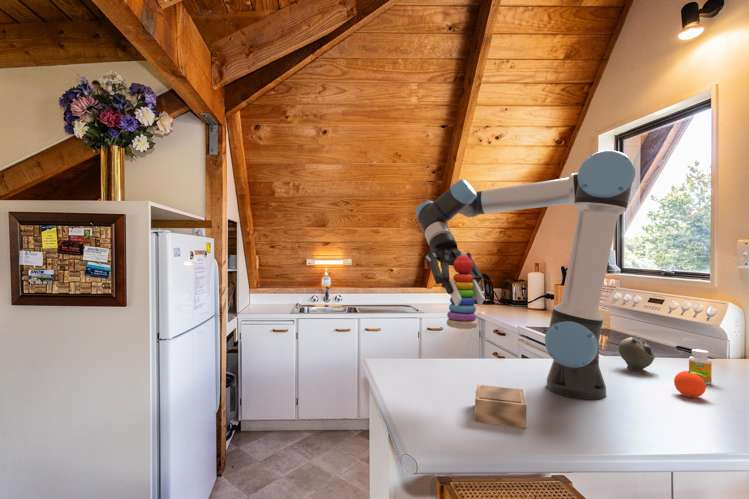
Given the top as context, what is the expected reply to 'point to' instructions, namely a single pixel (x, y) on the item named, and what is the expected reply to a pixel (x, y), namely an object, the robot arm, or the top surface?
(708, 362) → the supplement bottle
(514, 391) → the wooden block
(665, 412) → the top surface
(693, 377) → the clementine
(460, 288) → the stacking toy
